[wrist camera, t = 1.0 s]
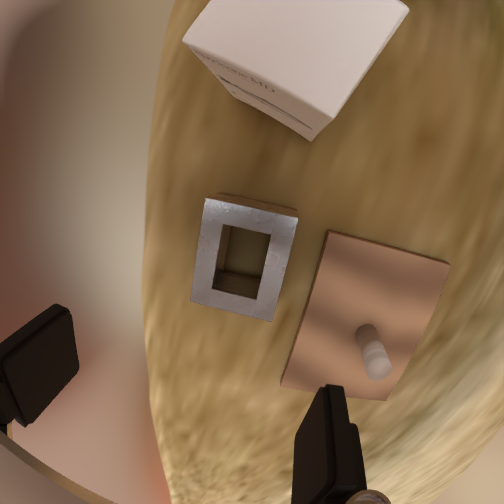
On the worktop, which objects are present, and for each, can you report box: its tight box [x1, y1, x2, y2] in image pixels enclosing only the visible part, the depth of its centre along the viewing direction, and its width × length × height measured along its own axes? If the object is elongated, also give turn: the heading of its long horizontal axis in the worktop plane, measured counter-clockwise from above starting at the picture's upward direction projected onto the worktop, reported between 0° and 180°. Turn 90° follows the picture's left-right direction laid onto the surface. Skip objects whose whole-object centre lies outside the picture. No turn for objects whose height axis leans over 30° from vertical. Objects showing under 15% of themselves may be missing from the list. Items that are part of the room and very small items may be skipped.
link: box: [190, 193, 298, 322], centre depth 23 cm, size 8×6×4 cm
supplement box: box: [182, 0, 409, 141], centre depth 14 cm, size 7×7×13 cm
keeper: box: [280, 230, 451, 401], centre depth 22 cm, size 16×12×6 cm
